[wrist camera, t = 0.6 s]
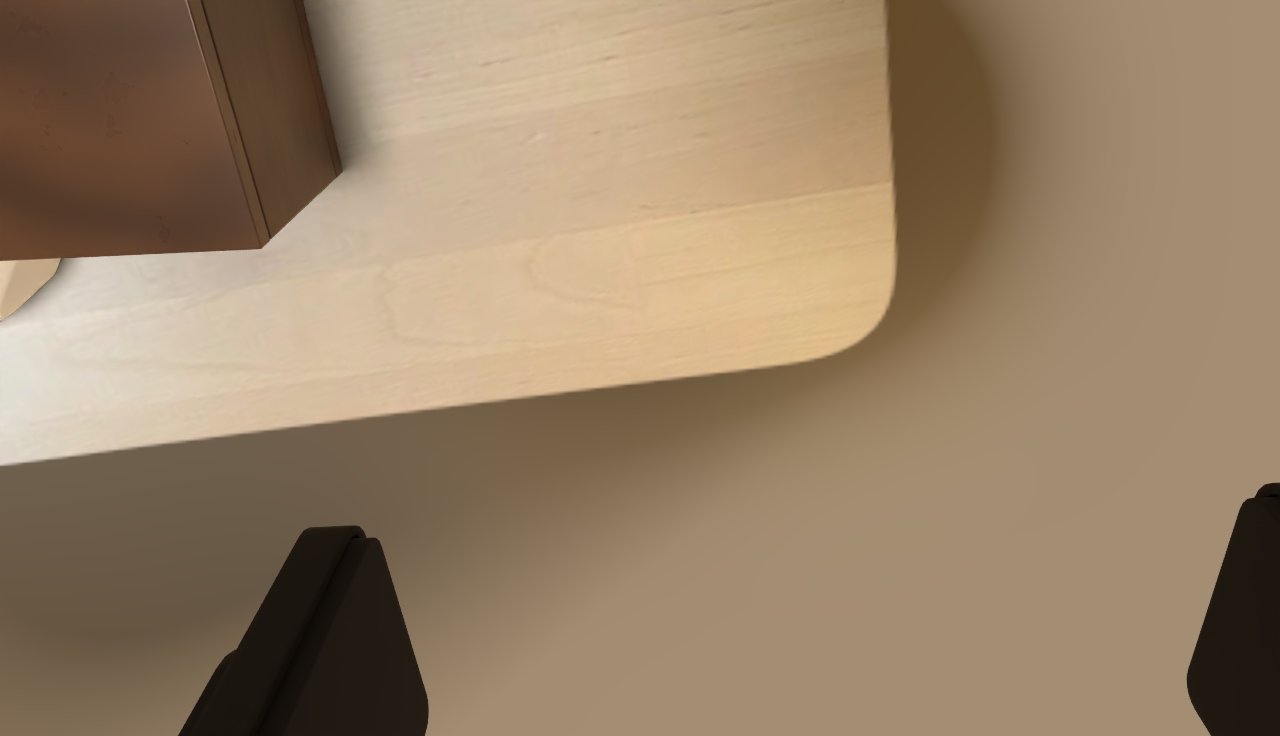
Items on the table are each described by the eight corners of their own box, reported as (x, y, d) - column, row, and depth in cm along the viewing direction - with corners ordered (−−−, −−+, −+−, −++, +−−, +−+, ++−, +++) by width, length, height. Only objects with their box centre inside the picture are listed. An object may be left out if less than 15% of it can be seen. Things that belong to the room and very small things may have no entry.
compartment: (-71, -213, 31) (-277, -233, 24) (246, -239, 30) (124, -267, 24) (84, 185, 38) (-42, 255, 32) (343, 172, 38) (271, 240, 31)
